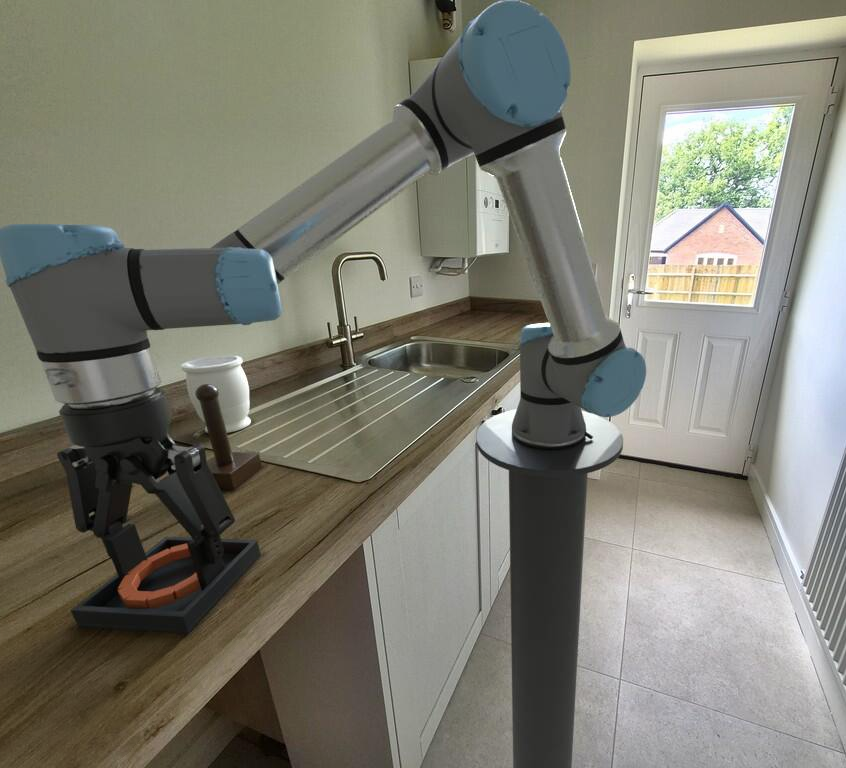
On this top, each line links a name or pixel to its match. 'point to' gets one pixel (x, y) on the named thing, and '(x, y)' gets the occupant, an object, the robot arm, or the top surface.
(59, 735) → the top surface
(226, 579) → the tray
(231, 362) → the jar
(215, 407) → the ring stand
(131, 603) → the ring
